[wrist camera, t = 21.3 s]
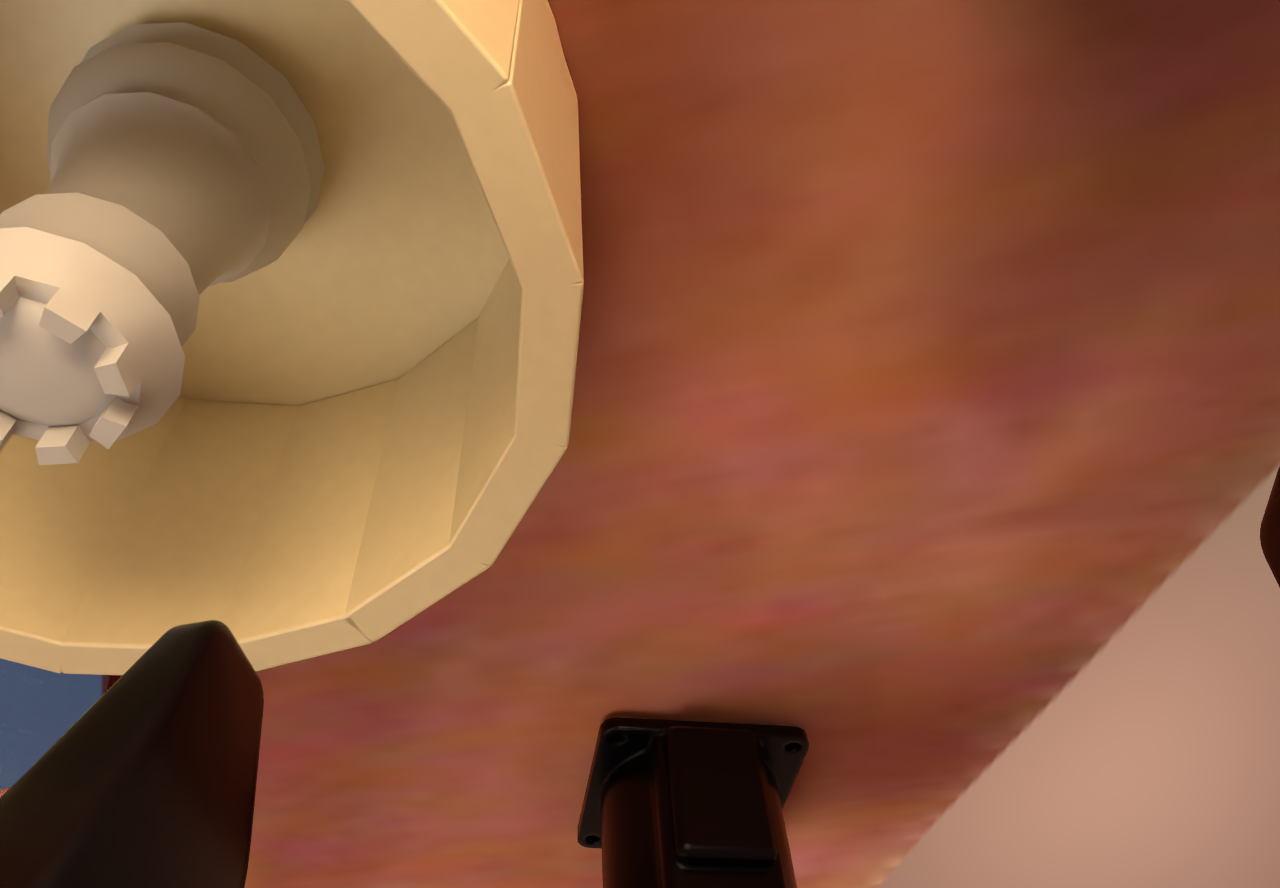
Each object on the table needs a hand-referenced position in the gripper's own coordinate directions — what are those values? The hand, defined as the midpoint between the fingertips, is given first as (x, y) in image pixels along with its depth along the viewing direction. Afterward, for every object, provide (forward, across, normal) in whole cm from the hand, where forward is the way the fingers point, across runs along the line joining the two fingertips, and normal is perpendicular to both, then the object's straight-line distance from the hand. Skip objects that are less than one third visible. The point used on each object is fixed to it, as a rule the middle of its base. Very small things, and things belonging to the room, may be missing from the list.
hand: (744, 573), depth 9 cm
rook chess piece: (+13, +8, 0) cm, 15 cm away
